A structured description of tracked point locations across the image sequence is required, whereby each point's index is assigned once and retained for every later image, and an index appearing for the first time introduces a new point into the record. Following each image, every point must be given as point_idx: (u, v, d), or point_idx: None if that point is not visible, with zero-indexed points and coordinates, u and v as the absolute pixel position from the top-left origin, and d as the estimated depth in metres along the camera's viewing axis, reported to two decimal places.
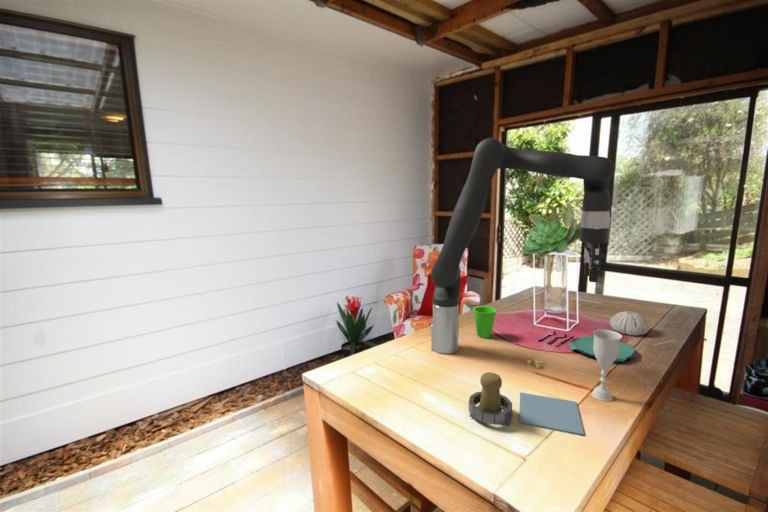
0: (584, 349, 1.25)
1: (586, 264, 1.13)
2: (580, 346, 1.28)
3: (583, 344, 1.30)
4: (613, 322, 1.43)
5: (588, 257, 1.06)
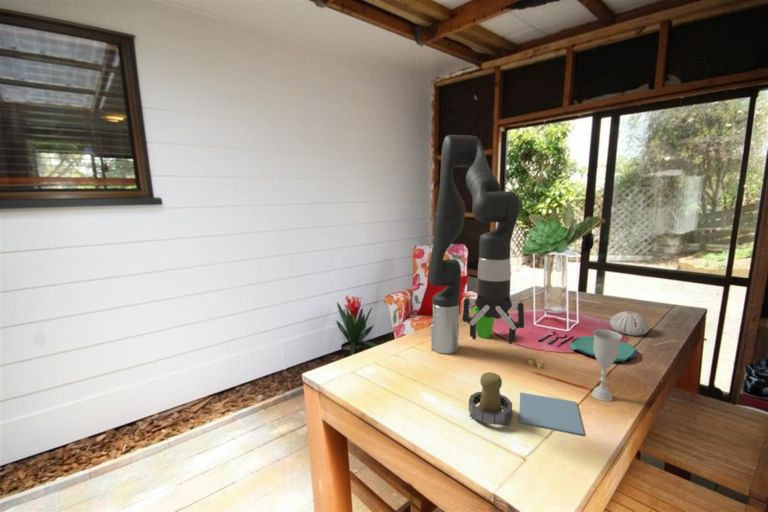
0: (585, 349, 1.25)
1: (475, 325, 0.88)
2: (581, 346, 1.28)
3: (583, 344, 1.30)
4: (613, 322, 1.43)
5: (507, 315, 0.84)
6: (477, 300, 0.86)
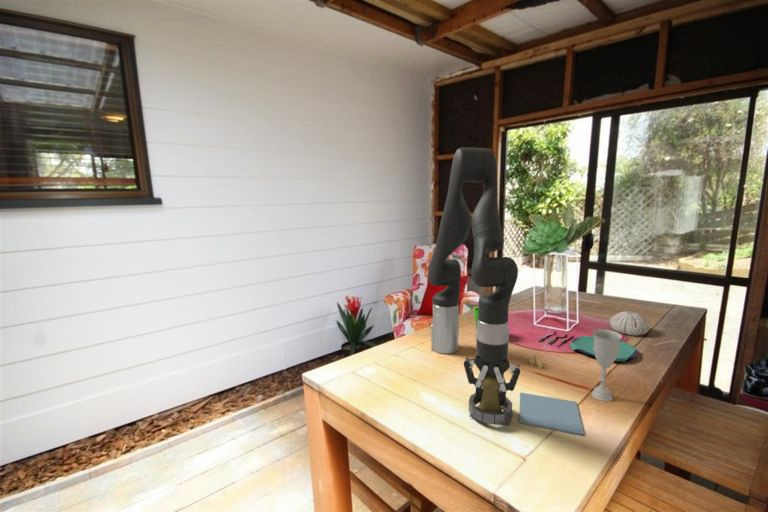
0: (585, 349, 1.25)
1: (480, 387, 0.90)
2: (581, 346, 1.28)
3: (584, 344, 1.30)
4: (613, 322, 1.43)
5: (502, 378, 0.87)
6: (475, 360, 0.89)
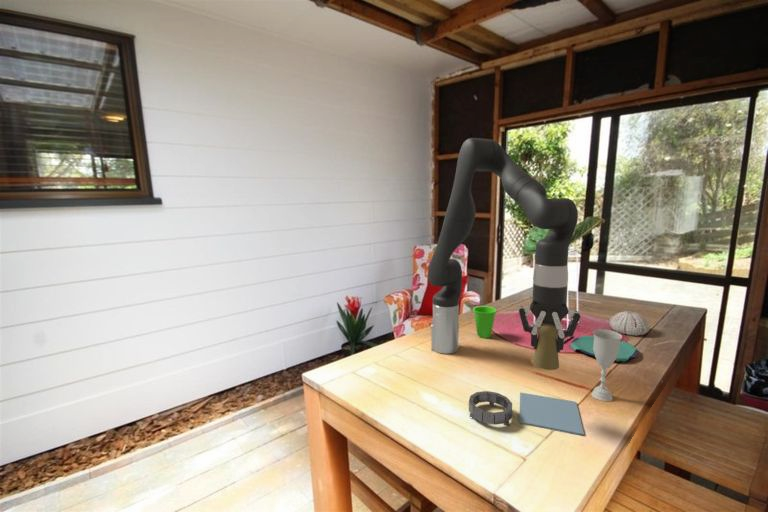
0: (586, 349, 1.26)
1: (536, 335, 0.88)
2: (582, 346, 1.28)
3: (584, 344, 1.30)
4: (613, 322, 1.43)
5: (560, 324, 0.85)
6: (532, 307, 0.87)
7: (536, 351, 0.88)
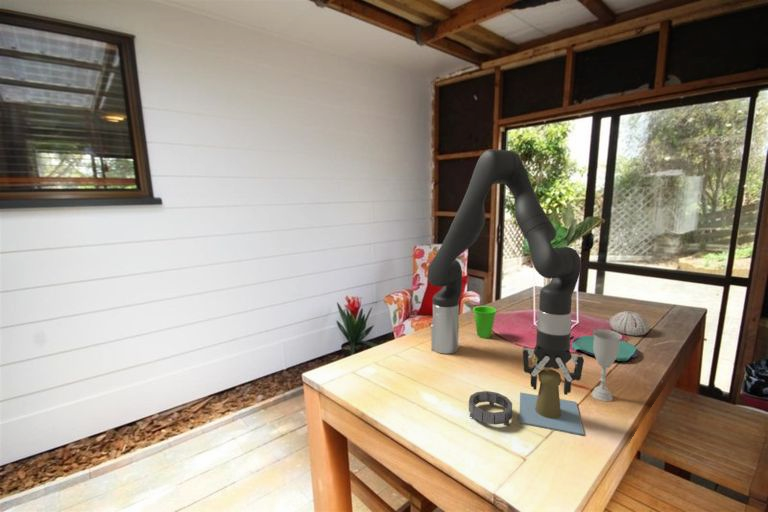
0: (587, 349, 1.26)
1: (536, 376, 0.90)
2: (582, 346, 1.28)
3: (585, 344, 1.30)
4: (613, 322, 1.43)
5: (566, 368, 0.87)
6: (536, 351, 0.89)
7: (538, 399, 0.91)
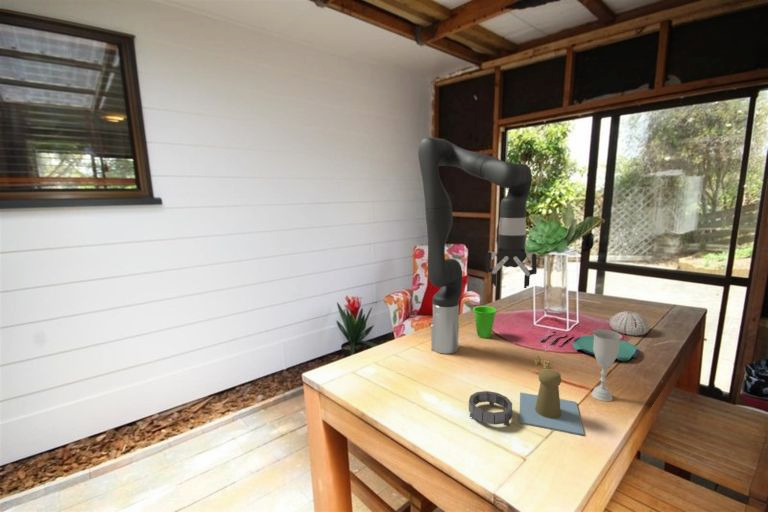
0: (588, 349, 1.26)
1: (496, 274, 1.07)
2: (583, 346, 1.28)
3: (586, 343, 1.30)
4: (613, 322, 1.43)
5: (523, 264, 1.03)
6: (498, 253, 1.06)
7: (538, 399, 0.91)
